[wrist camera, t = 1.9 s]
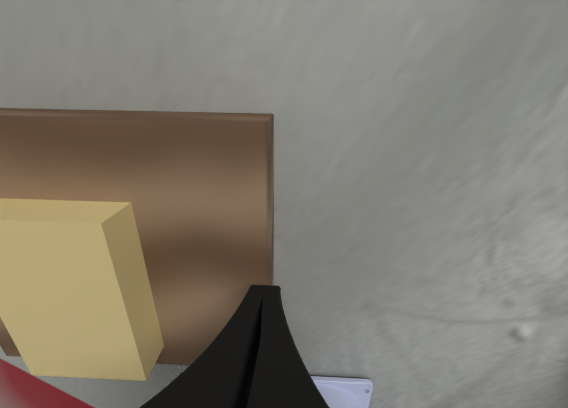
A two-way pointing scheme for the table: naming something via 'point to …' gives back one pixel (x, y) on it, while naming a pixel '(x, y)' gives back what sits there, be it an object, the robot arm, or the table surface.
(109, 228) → the pale yellow block
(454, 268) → the table surface
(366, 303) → the table surface
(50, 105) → the table surface
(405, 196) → the table surface
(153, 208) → the board
